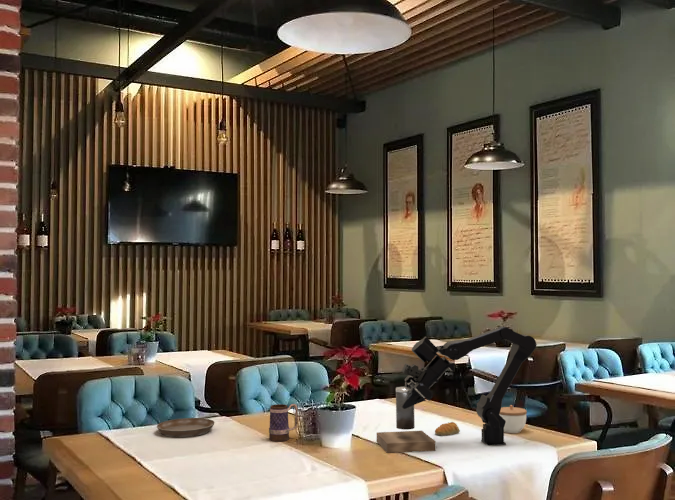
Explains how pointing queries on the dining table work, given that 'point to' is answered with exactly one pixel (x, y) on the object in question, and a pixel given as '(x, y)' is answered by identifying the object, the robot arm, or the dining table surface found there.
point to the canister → (404, 415)
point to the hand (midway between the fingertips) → (401, 406)
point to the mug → (280, 422)
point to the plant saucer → (185, 427)
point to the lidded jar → (513, 418)
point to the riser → (405, 441)
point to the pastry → (447, 429)
